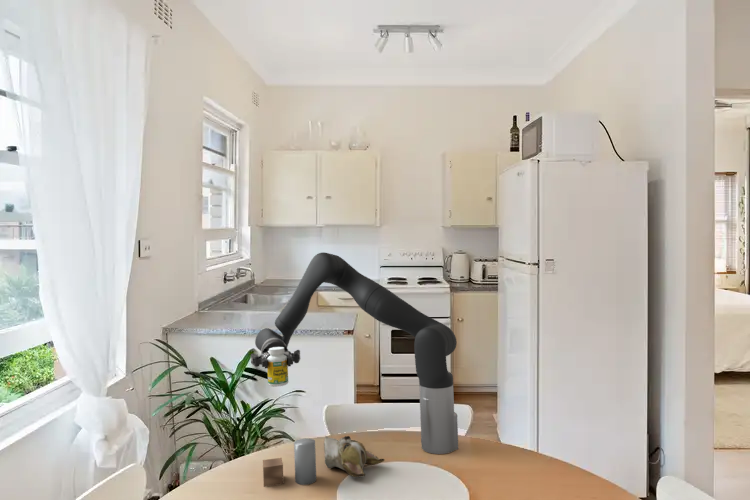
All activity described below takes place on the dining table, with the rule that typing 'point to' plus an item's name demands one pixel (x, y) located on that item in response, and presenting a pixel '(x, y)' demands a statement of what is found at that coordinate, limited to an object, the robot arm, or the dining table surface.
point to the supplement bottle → (277, 367)
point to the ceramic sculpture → (348, 455)
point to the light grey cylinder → (305, 461)
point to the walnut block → (273, 472)
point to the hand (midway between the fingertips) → (278, 363)
